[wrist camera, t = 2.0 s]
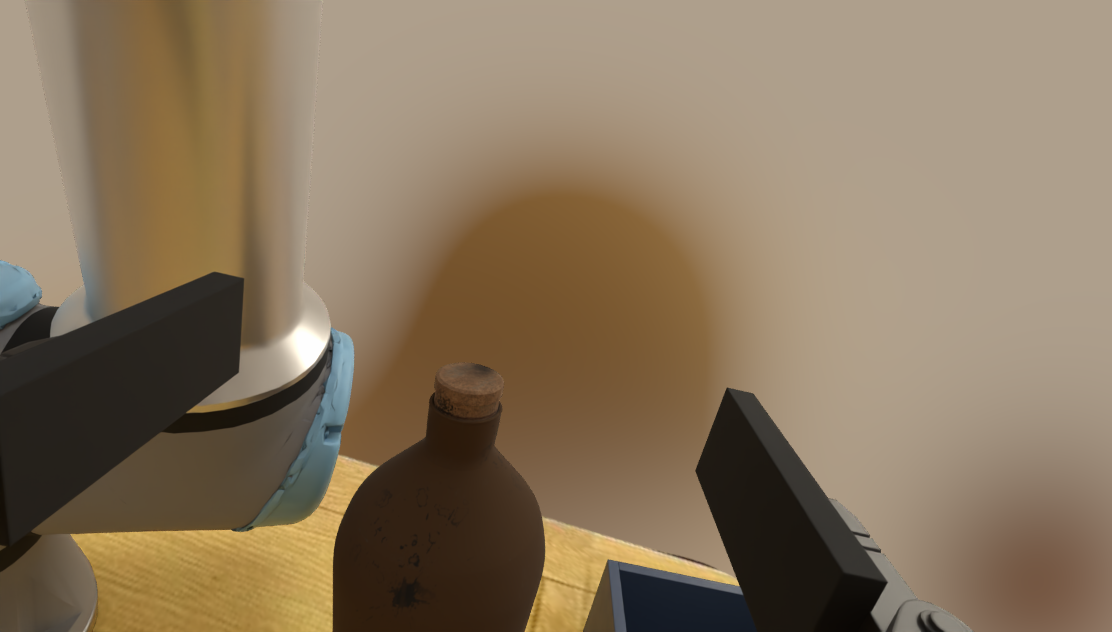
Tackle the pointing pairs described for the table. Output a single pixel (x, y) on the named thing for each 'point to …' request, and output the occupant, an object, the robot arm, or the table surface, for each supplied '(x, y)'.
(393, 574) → the brown bottle
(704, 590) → the blue-grey hollow square box
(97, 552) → the table surface
